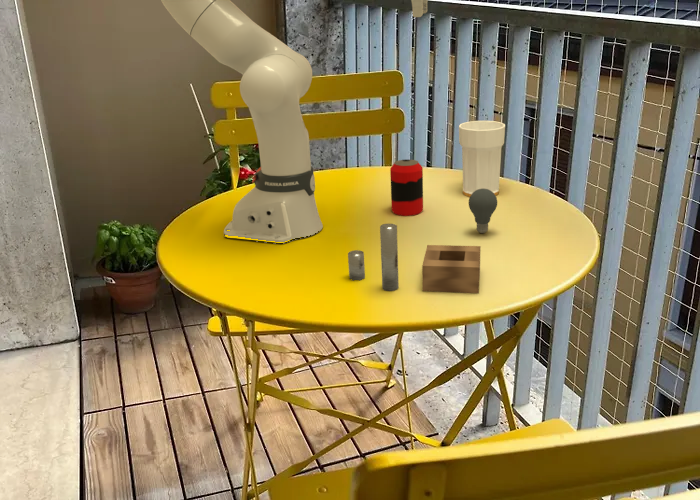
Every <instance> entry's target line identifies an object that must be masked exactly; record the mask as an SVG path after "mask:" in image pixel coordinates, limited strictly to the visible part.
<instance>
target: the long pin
mask: <svg viewBox="0 0 700 500" xmlns="http://www.w3.org/2000/svg"><path fill="white" fill-rule="evenodd" d="M379 229H380V230H379V231H380V232H379V233H380V234H379V235H380V236H379V237H380V259H381V265H380V266H381V288H382V290H384V291H386V292H395V291H398V289H399V288H400V287H399V286H400V285H399V255H398V254H399V253H398V251H399V248H398V225H397V224H396V223H383V224H381V225H379Z"/></svg>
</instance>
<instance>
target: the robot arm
mask: <svg viewBox="0 0 700 500" xmlns="http://www.w3.org/2000/svg"><path fill="white" fill-rule="evenodd" d="M160 1H161V3H162V5H163V7H164V8H165V9H166V10H167V12H168V13H169V14H170V15H171V17H172V19H174V20H175V22H176V23H177V24H178V25H179V26H180V27H181V28H182V29H183V30H184V31H185V33H187V35H189V36H190V37H191V39H193V40H194V41H195V42H196V43H197V44H199V46H201V47H202V48H203V49H205V51H206V52H208V54H210V55H211V57H213V58H214V59H215V60H216V61H217V62H218V63H219V64H222V65H225V66H227V67H229V68H230V69H232V70H235V71H236V72H238V73H239V74H241V75H242V77H241V79H240V82H239V93H240V96H241V98H242V100H243V102H244V103H245V105H246V106H247V107H248V110H249V113H250V116H251V119H252V122H253V125H254V129H255V133H256V138H257V143H258V152H259V160H260V167H258V169H257V170H256V172H255V173H254V174H253V176H252V177H251V180H252V181H251V183H252V184H253V183H254V187H253V188H252V189H251V190H250V191H248V193H246V194H245V195H244V196H243V197H242V198H240V200H239V201H238V202H237V203H236V204H235V206H234V208H233V212H232V220H231V221H230V222H229V223H228V224H227V225H226V226H225V227H224V230H223V235H224V234H225V235H228V236H238V237H245V238H251V239H258V240H266V241H275V242H285V241H288V240H291V239H295V238H300V237H304V238H307V237H306V236H308V237H310V235H311V236H313V235H315V233H316V234H318V233H319V232H320V231H322V229H323V227H324V226H323V223H322V221H321V217H320V215H319V212H318V207H317V203H316V199H315V191H316V181H315V174H314V167H313V166H312V161H311V151H310V150H311V148H310V147H311V146H310V138H309V137H310V136H309V135H310V134H309V131H308V129H307V128H306V125H305V122H304V120H303V115H302V112H301V111H302V110H301V107H300V99H301V98H303V97H304V96H305V95H306V93H307V92H308V91H309V89H310V87H311V83H312V80H313V68H312V66H311V63H310V62H309V60H308V59H307V58H306V57H305V56H304V55H302V54H301V53H299V52H297V51H295V50H293V49H292V48H290V47H289V46H288V45H287V44H286V43H284V42H283V41H281V40H280V39H278V38H277V37H276V36H274V35H273V34H272V33H270V32H269V31H267V30H265V29H264V28H262V26H260V25H258V23H256V22H255V21H253V20H252V19H251V18H250V16H249V15H247V14H246V13H245V12H243V11H242V9H240V8H239V7H238V6H237V5H236V4H235V3H234V2H232V1H231V0H160ZM410 1H411V7H412V16H413V18H421V17H422V16H423V14H426V13H428V1H429V0H410ZM227 230H230V231H227ZM318 231H319V232H318ZM300 239H301V238H300ZM295 240H296V239H295Z"/></svg>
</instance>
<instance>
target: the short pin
mask: <svg viewBox="0 0 700 500" xmlns="http://www.w3.org/2000/svg"><path fill="white" fill-rule="evenodd" d="M347 259H348V276H349V277H350V278H349V277H348V278H349V279H350V280H351V279H352V280H351V281H354V280H359V281H363V280H364V279H365V278H366V272H365V271H366V269H365V253H364V251H363V250H359V249H357V250H356V249H355V250H350V251H349V252H348V253H347ZM362 279H363V280H362Z"/></svg>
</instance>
